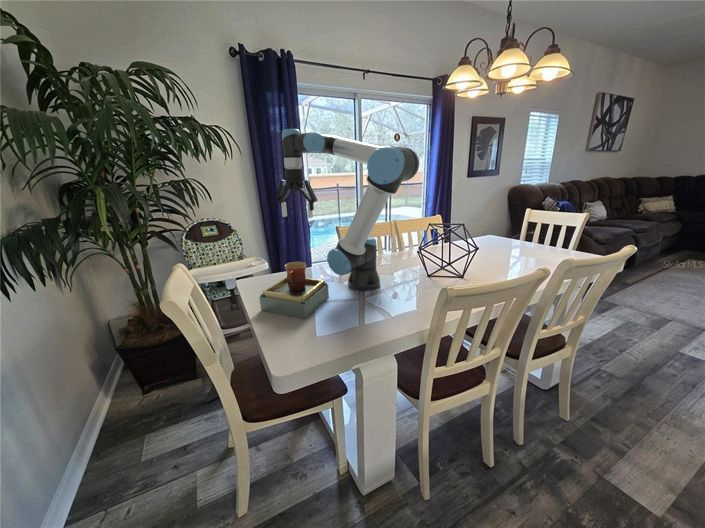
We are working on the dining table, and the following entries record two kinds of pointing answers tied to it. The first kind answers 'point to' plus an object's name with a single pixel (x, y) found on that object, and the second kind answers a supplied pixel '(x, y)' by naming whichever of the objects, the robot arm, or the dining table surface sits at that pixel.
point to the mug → (296, 275)
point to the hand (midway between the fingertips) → (297, 217)
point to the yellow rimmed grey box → (294, 298)
